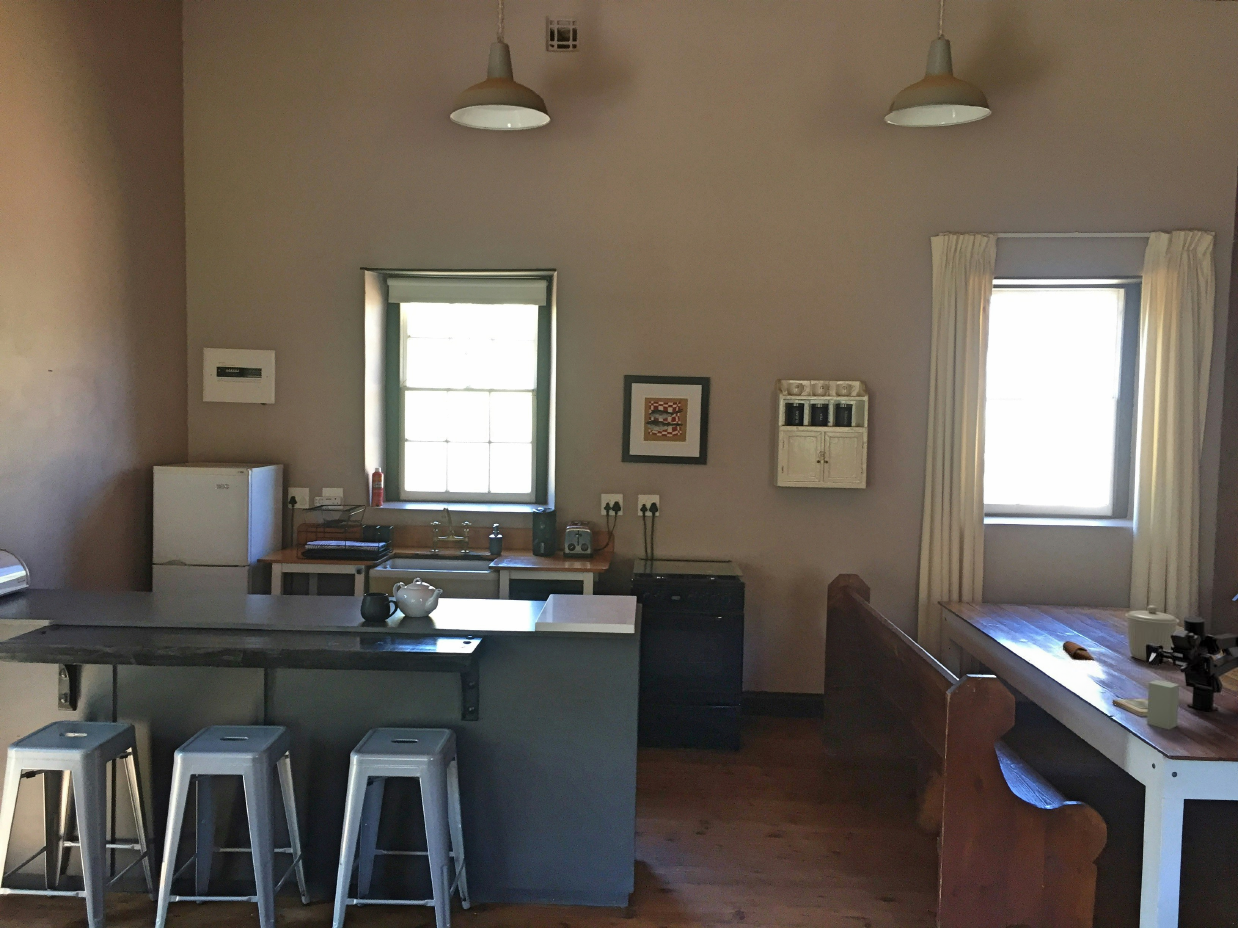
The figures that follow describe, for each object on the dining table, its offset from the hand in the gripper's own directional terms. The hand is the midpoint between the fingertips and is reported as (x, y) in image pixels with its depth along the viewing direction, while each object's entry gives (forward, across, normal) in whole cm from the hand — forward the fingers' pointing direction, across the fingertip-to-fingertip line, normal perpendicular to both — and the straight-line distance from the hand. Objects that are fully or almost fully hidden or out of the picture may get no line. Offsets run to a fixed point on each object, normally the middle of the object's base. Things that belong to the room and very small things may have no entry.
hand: (1165, 666), depth 271 cm
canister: (-72, -42, +29) cm, 88 cm away
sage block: (+8, +2, +15) cm, 17 cm away
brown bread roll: (-53, -59, +26) cm, 84 cm away
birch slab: (-2, -8, +18) cm, 20 cm away
